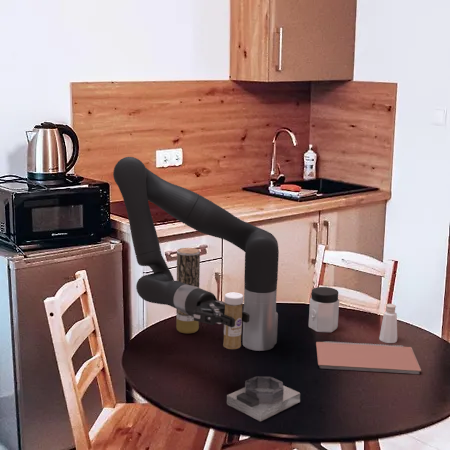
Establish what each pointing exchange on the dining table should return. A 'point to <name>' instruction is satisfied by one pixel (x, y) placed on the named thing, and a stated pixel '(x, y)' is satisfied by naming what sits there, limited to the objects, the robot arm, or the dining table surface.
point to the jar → (324, 309)
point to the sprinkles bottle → (235, 311)
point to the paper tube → (189, 275)
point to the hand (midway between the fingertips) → (241, 320)
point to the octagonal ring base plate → (263, 397)
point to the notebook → (367, 357)
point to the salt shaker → (389, 325)
